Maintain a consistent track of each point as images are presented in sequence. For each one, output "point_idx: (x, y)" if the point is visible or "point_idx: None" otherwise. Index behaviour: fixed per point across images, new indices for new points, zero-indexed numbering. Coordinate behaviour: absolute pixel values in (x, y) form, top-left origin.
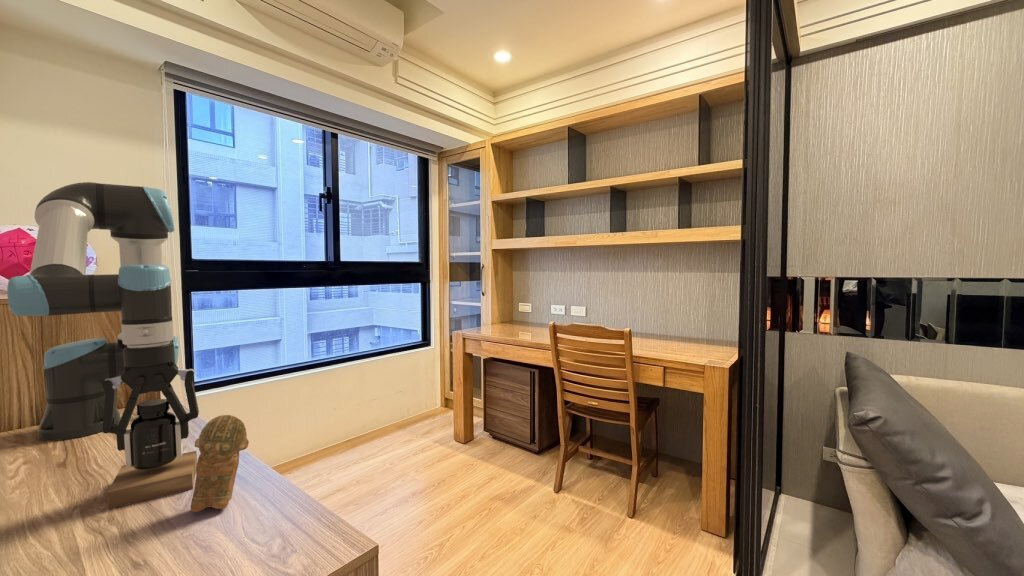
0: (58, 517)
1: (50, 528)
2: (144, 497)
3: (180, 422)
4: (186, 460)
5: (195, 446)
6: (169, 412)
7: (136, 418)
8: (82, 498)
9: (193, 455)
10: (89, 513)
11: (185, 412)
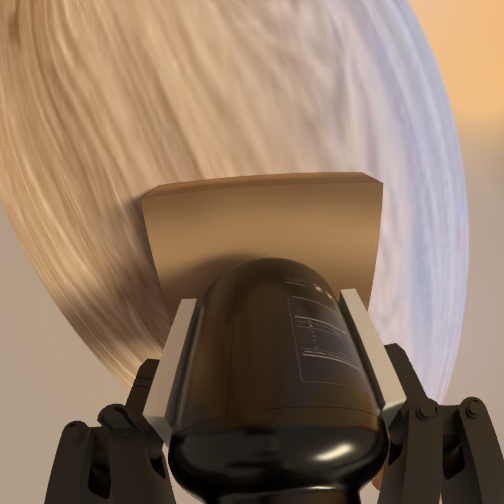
0: (115, 323)
1: (129, 353)
2: None
3: (389, 443)
4: (352, 266)
5: (372, 481)
6: (364, 485)
7: (197, 499)
8: (109, 258)
9: (373, 229)
10: (164, 337)
11: (436, 442)
